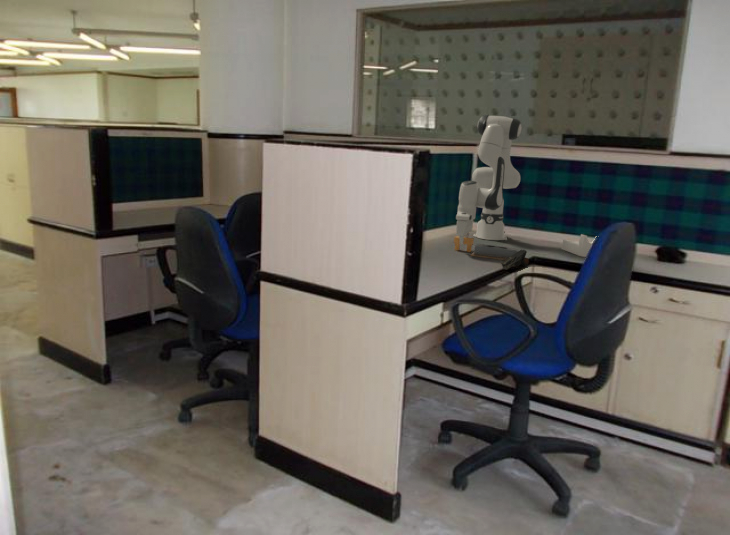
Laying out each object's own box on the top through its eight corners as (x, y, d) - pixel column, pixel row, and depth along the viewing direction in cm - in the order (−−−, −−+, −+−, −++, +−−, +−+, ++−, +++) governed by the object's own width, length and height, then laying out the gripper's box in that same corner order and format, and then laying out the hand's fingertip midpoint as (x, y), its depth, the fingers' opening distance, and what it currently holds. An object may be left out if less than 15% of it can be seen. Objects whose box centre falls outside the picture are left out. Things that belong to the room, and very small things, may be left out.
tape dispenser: (597, 258, 307) (602, 237, 305) (580, 256, 304) (585, 235, 302) (577, 250, 324) (581, 231, 322) (560, 248, 321) (565, 229, 319)
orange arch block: (454, 249, 305) (455, 236, 304) (472, 251, 302) (473, 238, 301) (453, 250, 303) (454, 237, 301) (471, 252, 299) (472, 239, 298)
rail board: (475, 251, 302) (476, 242, 301) (521, 257, 295) (522, 247, 294) (470, 255, 291) (471, 246, 290) (517, 261, 284) (518, 252, 283)
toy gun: (505, 282, 270) (500, 263, 265) (525, 262, 277) (521, 244, 272) (509, 283, 268) (504, 264, 263) (529, 263, 275) (525, 245, 270)
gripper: (464, 211, 309) (462, 238, 312) (455, 216, 290) (452, 244, 293) (477, 212, 307) (474, 240, 310) (468, 217, 288) (465, 246, 291)
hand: (463, 242), depth 301 cm, fingers open, 8 cm apart
